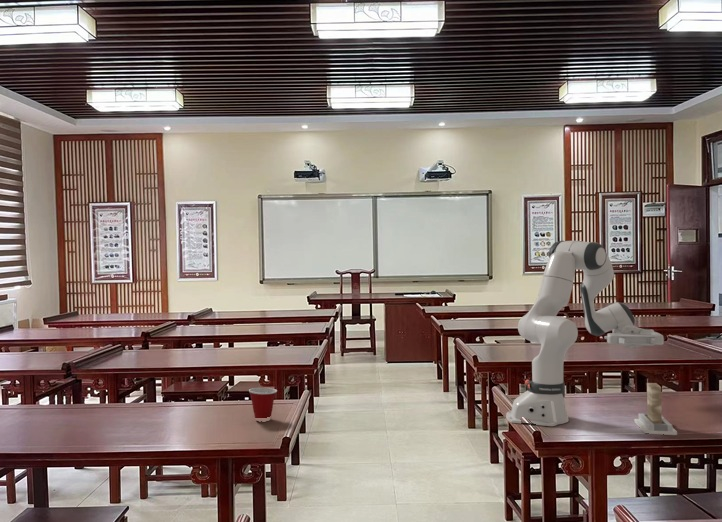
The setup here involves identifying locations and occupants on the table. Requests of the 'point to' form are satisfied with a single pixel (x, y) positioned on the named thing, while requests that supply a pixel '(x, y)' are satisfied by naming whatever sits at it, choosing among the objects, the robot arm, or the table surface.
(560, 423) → the robot arm
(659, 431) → the floor track
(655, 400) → the tan wooden block
